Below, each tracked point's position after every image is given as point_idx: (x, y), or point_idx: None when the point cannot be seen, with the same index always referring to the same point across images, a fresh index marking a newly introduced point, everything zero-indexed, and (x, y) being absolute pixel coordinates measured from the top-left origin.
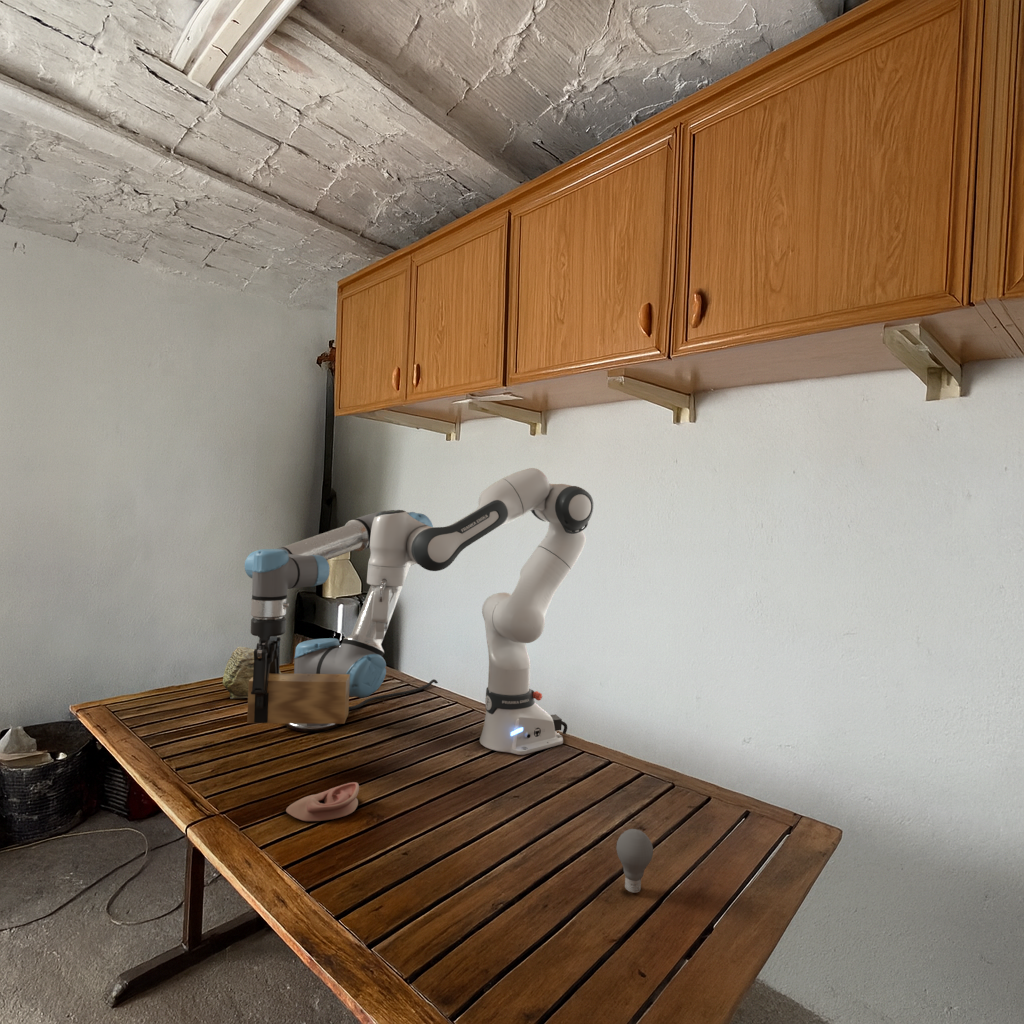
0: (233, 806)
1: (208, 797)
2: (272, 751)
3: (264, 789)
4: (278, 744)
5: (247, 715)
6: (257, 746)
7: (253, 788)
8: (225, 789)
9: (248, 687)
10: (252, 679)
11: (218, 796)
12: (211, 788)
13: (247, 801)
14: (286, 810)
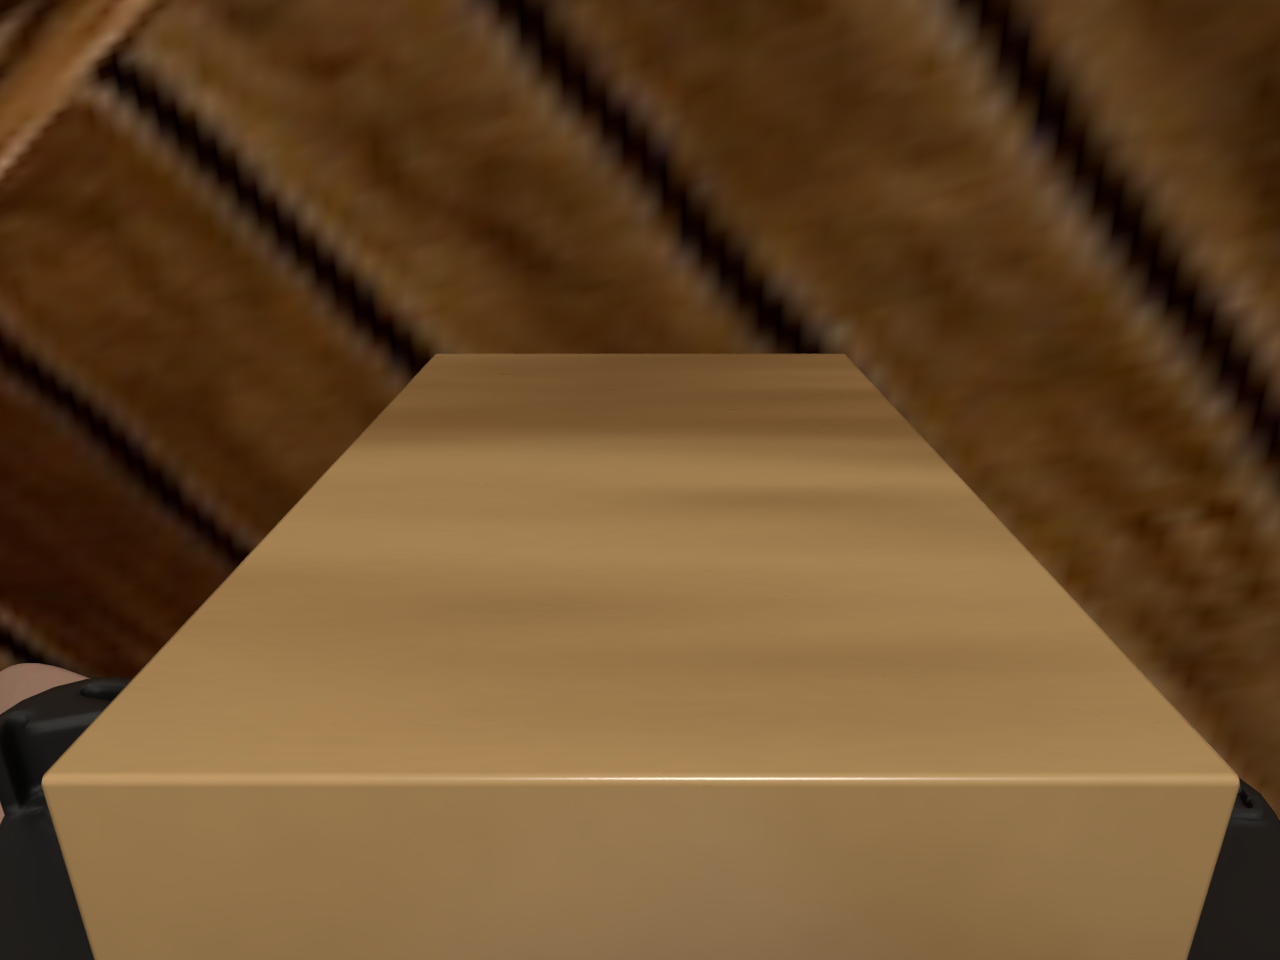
0: (22, 327)
1: (115, 88)
2: (999, 343)
3: (303, 461)
4: (1152, 354)
5: (408, 385)
6: (1141, 179)
7: (309, 383)
8: (266, 178)
9: (185, 629)
10: (270, 855)
11: (145, 164)
12: (268, 53)
13: (111, 399)
14: (3, 671)
